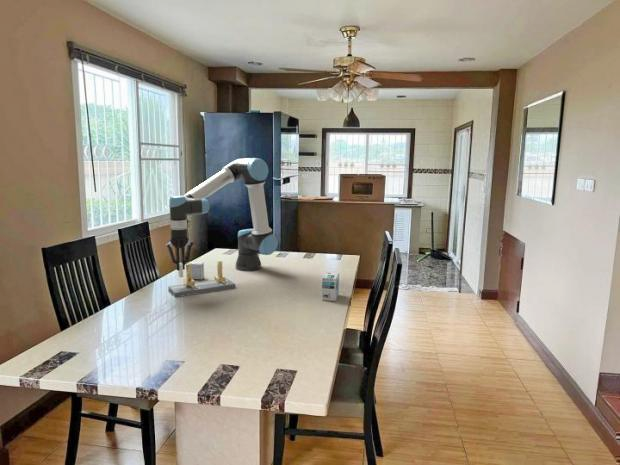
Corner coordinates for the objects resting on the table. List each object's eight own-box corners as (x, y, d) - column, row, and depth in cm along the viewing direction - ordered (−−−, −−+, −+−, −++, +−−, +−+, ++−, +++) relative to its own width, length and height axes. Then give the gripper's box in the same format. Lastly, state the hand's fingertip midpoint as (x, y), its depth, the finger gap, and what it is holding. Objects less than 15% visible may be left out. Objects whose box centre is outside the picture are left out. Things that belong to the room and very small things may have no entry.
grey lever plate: (226, 281, 231) (226, 258, 229) (235, 287, 221) (235, 263, 219) (168, 290, 215) (167, 265, 213) (174, 297, 205) (173, 271, 203)
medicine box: (204, 277, 238) (204, 262, 237) (201, 280, 234) (201, 264, 232) (190, 277, 239) (189, 261, 238) (187, 279, 235) (186, 263, 233)
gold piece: (191, 283, 220) (191, 262, 218) (197, 287, 212) (196, 266, 210) (183, 284, 217) (182, 263, 216) (189, 289, 210) (188, 267, 208)
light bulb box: (335, 301, 202) (336, 278, 200) (321, 300, 203) (321, 277, 201) (339, 294, 212) (339, 272, 210) (325, 293, 214) (325, 272, 212)
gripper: (166, 230, 203) (169, 280, 207) (194, 228, 210) (196, 276, 214) (163, 228, 209) (165, 276, 213) (190, 226, 216) (191, 273, 220)
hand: (180, 276), depth 214 cm, fingers closed
